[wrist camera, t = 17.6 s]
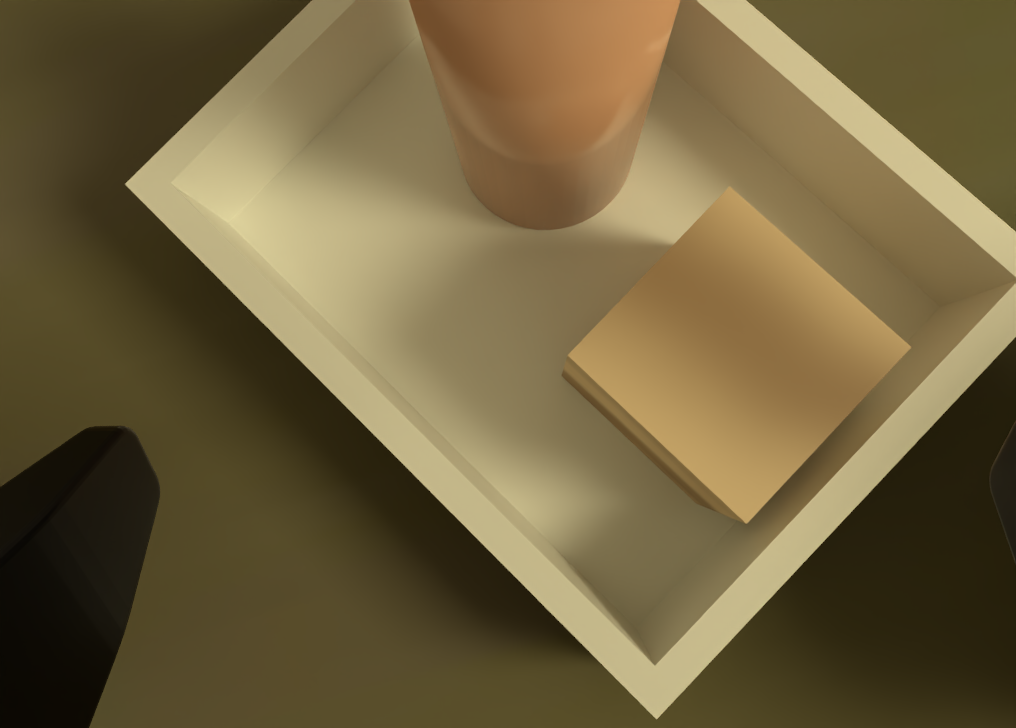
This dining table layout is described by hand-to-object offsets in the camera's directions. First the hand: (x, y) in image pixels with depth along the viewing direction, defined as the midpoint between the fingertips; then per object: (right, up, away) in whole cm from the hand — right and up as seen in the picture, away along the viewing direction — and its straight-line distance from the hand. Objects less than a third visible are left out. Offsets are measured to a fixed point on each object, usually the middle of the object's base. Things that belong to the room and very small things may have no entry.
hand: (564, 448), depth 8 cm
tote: (+1, +4, +14) cm, 14 cm away
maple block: (+4, +1, +13) cm, 14 cm away
